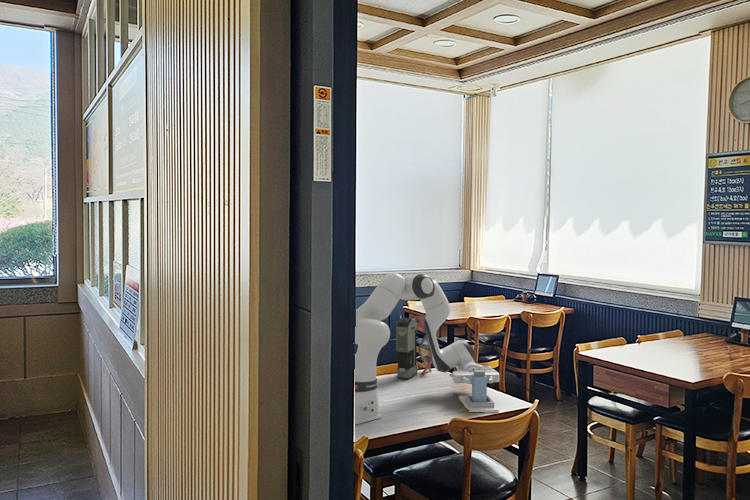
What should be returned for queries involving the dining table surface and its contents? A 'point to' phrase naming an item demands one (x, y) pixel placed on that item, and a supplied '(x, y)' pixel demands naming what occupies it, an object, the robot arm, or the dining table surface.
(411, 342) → the device
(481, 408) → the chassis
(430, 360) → the dna model
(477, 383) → the blue-gray rectangular block
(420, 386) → the dining table surface
